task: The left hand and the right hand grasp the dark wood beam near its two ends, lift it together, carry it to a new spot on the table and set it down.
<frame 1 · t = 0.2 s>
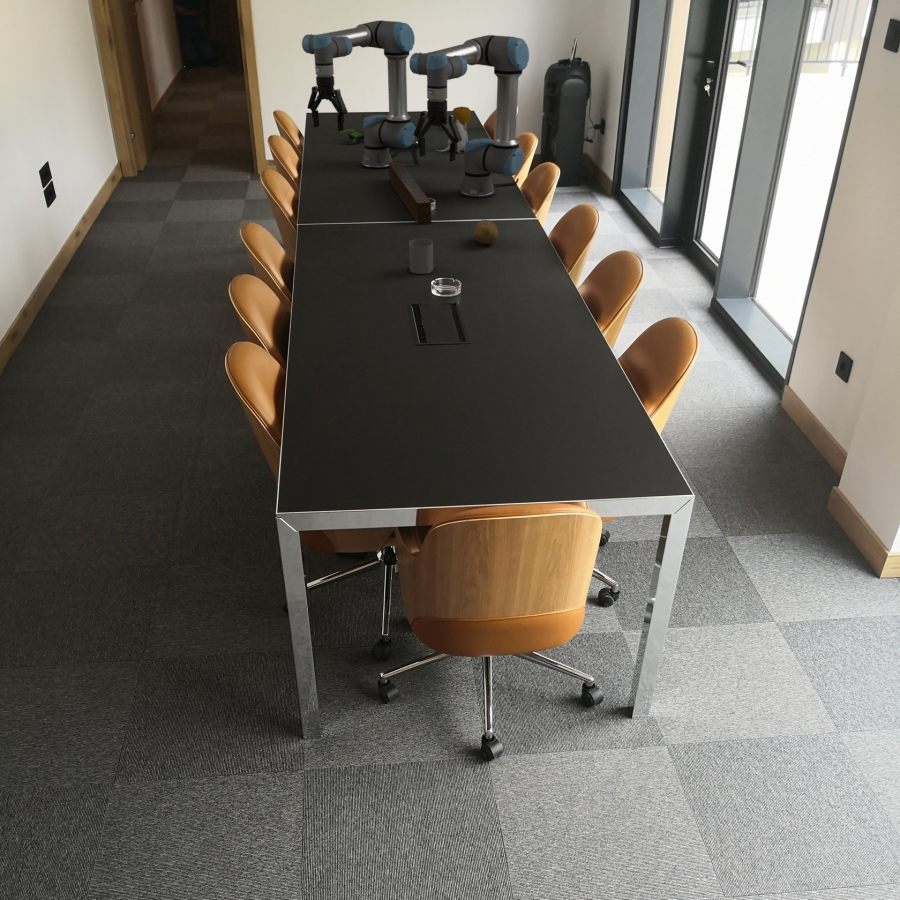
left hand: (328, 128, 373), 28 cm above the table, tool pointing down, fingers open, 13 cm apart
right hand: (437, 158, 333), 27 cm above the table, tool pointing down, fingers open, 13 cm apart
beam: (408, 200, 378), on the table
toy: (451, 153, 448), on the table
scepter: (367, 142, 468), on the table
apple: (461, 130, 491), on the table
cup: (421, 270, 308), on the table
potato: (485, 243, 332), on the table
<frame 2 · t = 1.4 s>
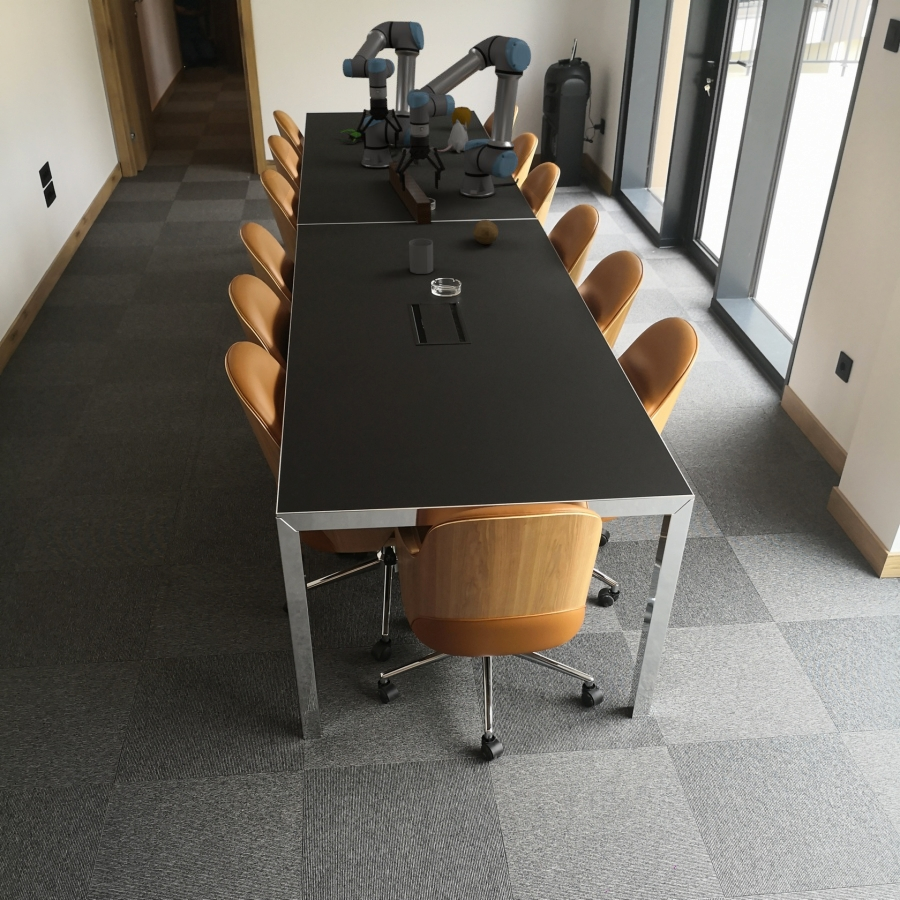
left hand: (380, 148, 387), 17 cm above the table, tool pointing down, fingers open, 13 cm apart
right hand: (420, 189, 351), 12 cm above the table, tool pointing down, fingers open, 13 cm apart
nothing on the table moved.
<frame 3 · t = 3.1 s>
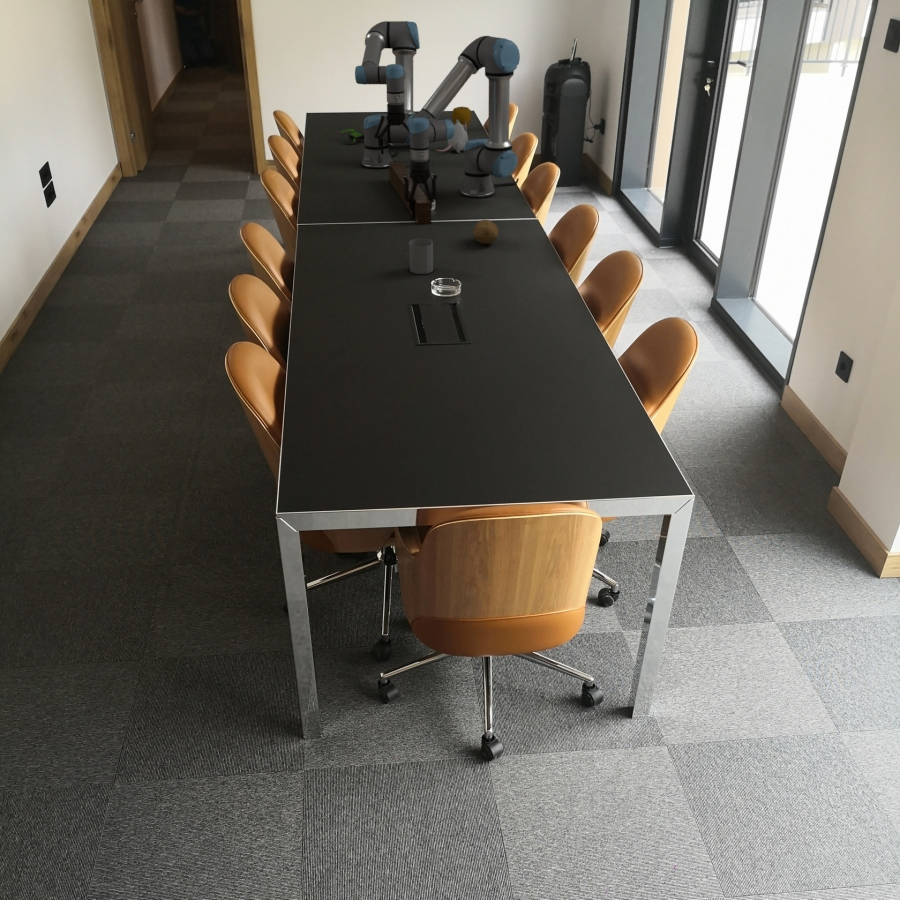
left hand: (397, 152, 391), 14 cm above the table, tool pointing down, fingers open, 13 cm apart
right hand: (420, 217, 357), 1 cm above the table, tool pointing down, fingers closed on beam, 5 cm apart
beam: (408, 200, 378), on the table, touching right hand
everything else where it was.
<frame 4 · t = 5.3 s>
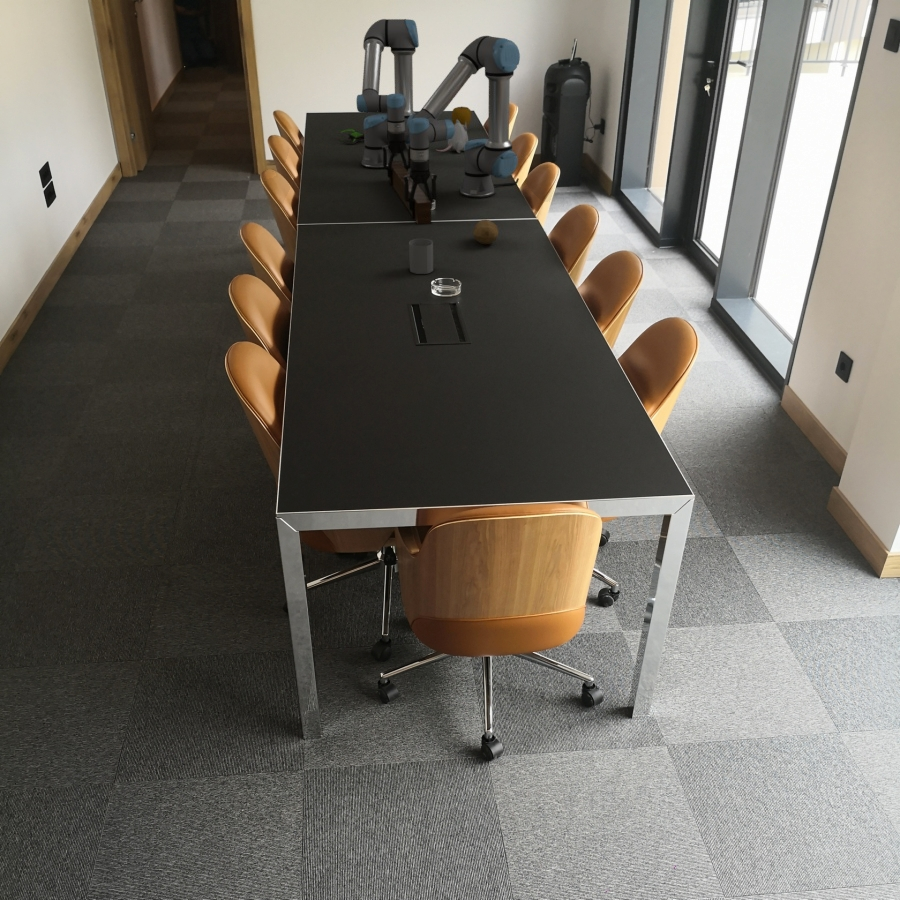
left hand: (398, 183, 398), 1 cm above the table, tool pointing down, fingers closed on beam, 5 cm apart
right hand: (420, 217, 357), 1 cm above the table, tool pointing down, fingers closed on beam, 5 cm apart
beam: (408, 200, 378), on the table, touching left hand, right hand
everything else where it was.
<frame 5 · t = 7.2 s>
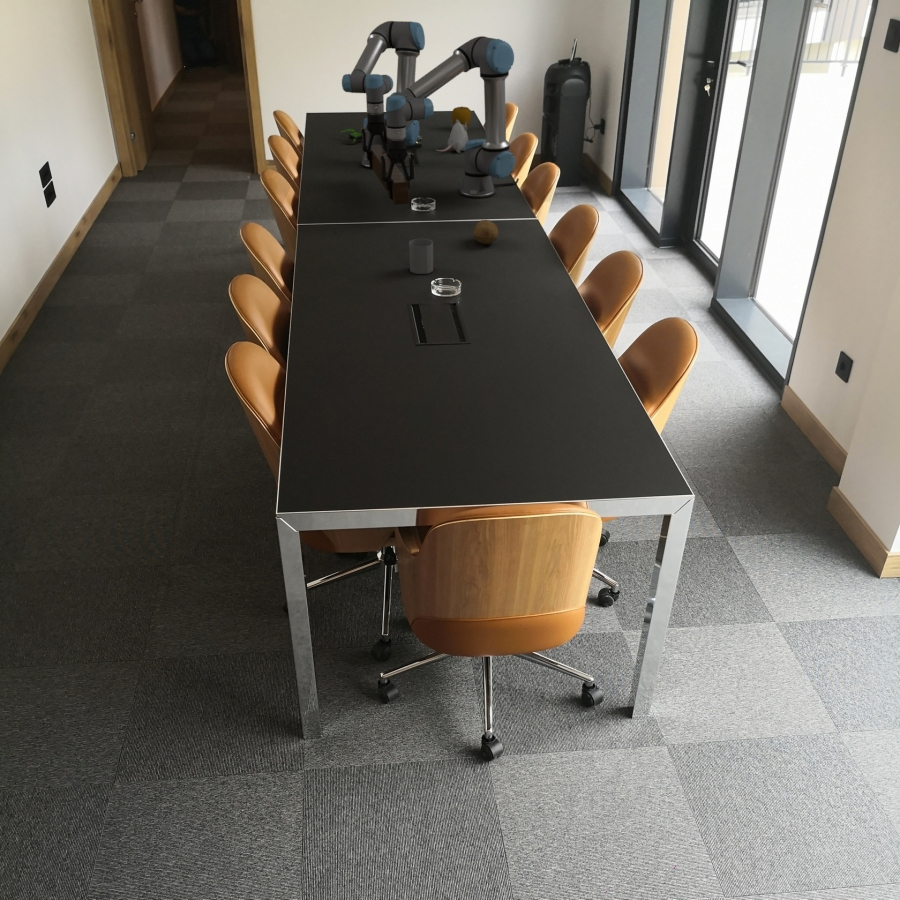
left hand: (377, 166, 392), 9 cm above the table, tool pointing down, fingers closed on beam, 6 cm apart
right hand: (398, 197, 351), 9 cm above the table, tool pointing down, fingers closed on beam, 5 cm apart
beam: (387, 182, 372), point 8 cm above the table, touching left hand, right hand
everything else where it was.
when the left hand's fingers open (2 cm above the table, at t = 9.1 s): beam drops 1 cm, on the table.
when the right hand's fingers open (2 cm above the table, at t = 9.1 s): beam drops 1 cm, on the table.
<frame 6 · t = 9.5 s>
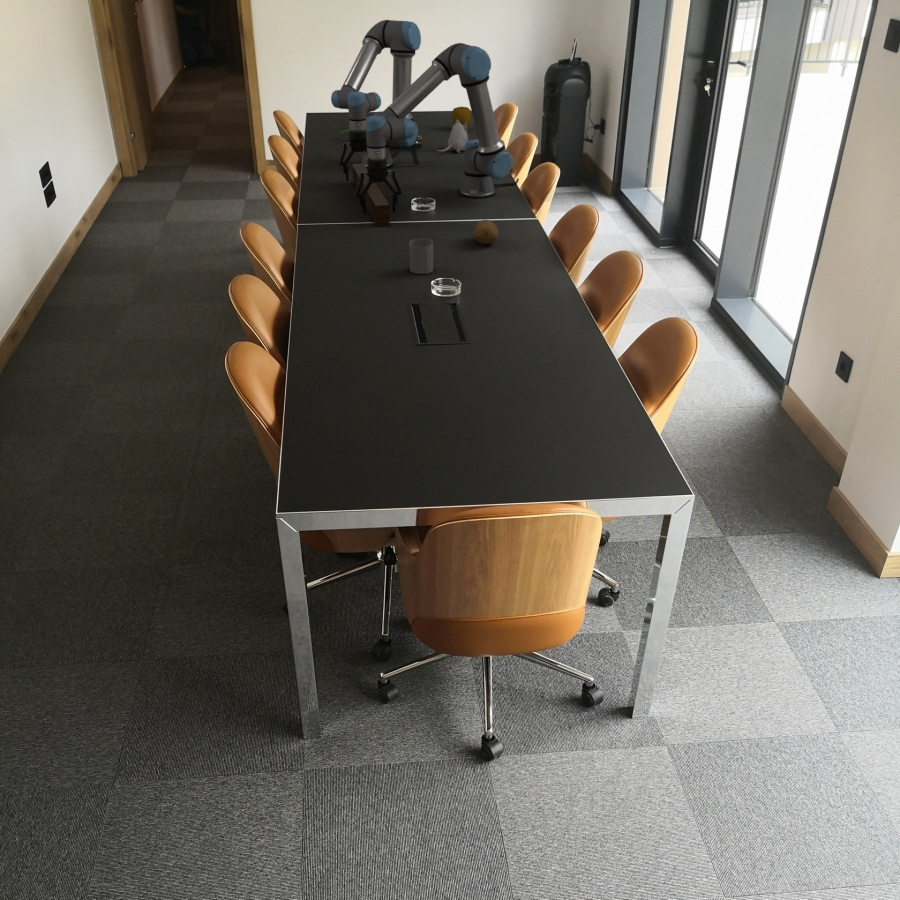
left hand: (360, 179, 394), 3 cm above the table, tool pointing down, fingers open, 11 cm apart
right hand: (379, 212, 353), 3 cm above the table, tool pointing down, fingers open, 11 cm apart
beam: (370, 202, 375), on the table
everything else where it was.
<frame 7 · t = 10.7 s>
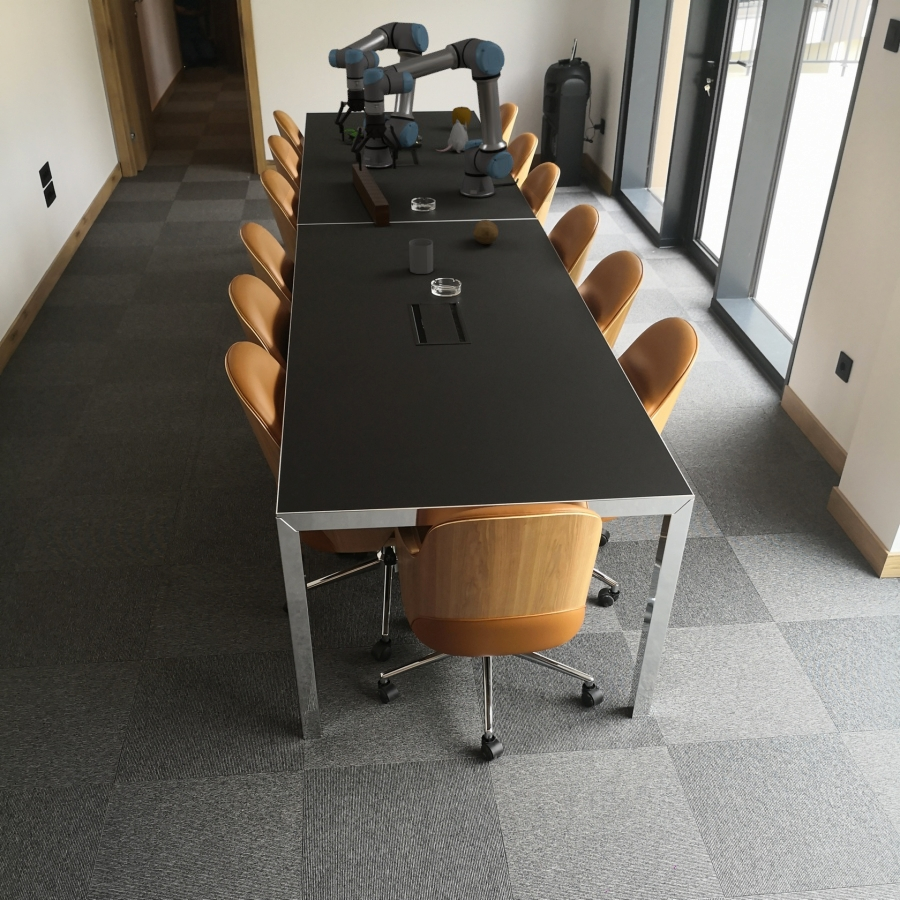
left hand: (358, 140, 385), 21 cm above the table, tool pointing down, fingers open, 13 cm apart
right hand: (377, 169, 344), 21 cm above the table, tool pointing down, fingers open, 13 cm apart
nothing on the table moved.
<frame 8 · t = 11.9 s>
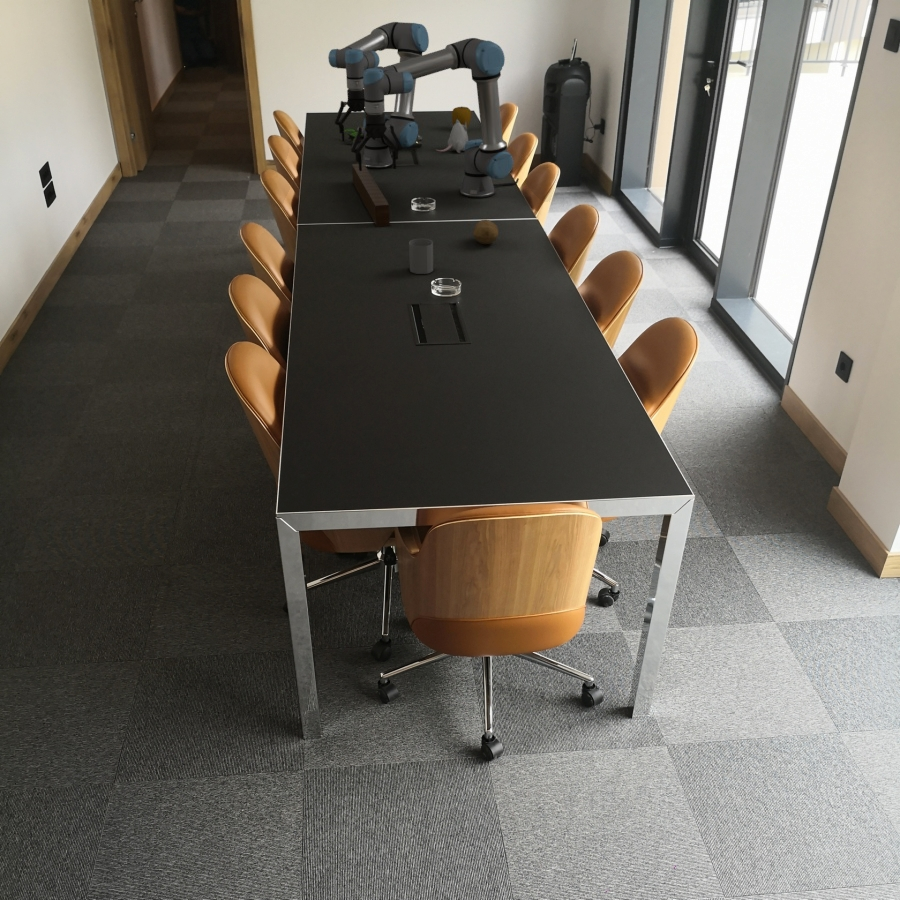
left hand: (358, 140, 385), 21 cm above the table, tool pointing down, fingers open, 13 cm apart
right hand: (377, 169, 344), 21 cm above the table, tool pointing down, fingers open, 13 cm apart
nothing on the table moved.
at the end: beam inside the target area (0.1 cm from its centre), on the table; beam tilted 0°; beam never tilted more than 1° during the clip; both hands held the beam at the same time; the left hand is holding nothing; the right hand is holding nothing; beam at rest at the end (0.0 cm/s) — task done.
